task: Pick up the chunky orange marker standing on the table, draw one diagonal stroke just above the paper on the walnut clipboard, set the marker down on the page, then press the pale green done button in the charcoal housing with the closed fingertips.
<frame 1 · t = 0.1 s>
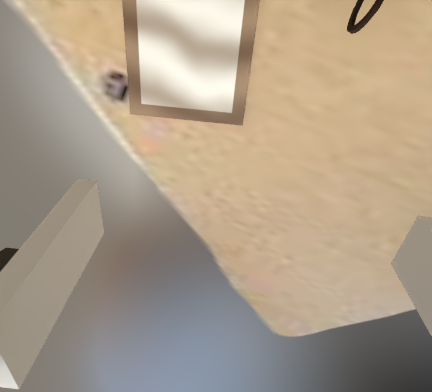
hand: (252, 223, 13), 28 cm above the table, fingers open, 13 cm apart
board: (190, 38, 35), on the table
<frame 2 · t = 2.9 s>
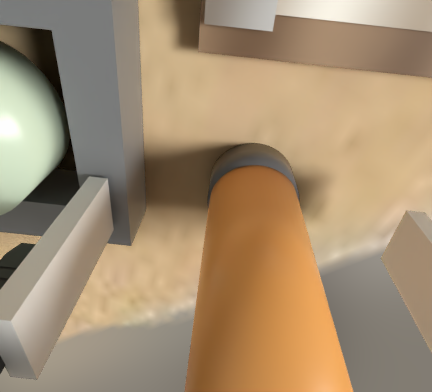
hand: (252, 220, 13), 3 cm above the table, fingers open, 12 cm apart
button housing: (23, 99, 14), on the table
marker: (251, 181, 16), on the table
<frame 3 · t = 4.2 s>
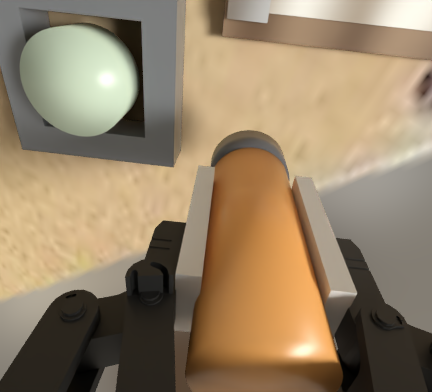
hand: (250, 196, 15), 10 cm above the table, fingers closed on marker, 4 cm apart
button housing: (105, 69, 22), on the table
done button: (84, 80, 19), point 3 cm above the table, slide at 0.0 cm
marker: (247, 164, 18), point 6 cm above the table, touching gripper
when the fingers open (3 cm above the table, at t = 9.3 s): marker stays where it is, resting on board.
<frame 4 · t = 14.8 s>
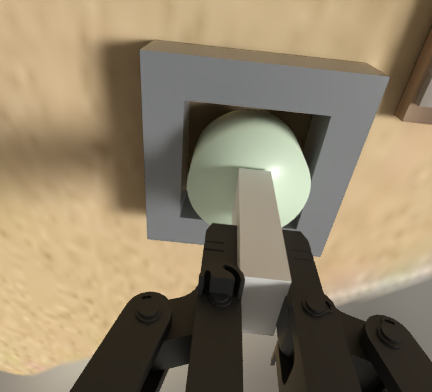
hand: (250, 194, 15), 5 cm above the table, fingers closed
button housing: (245, 148, 19), on the table
done button: (247, 174, 17), point 3 cm above the table, slide at 0.3 cm, touching gripper
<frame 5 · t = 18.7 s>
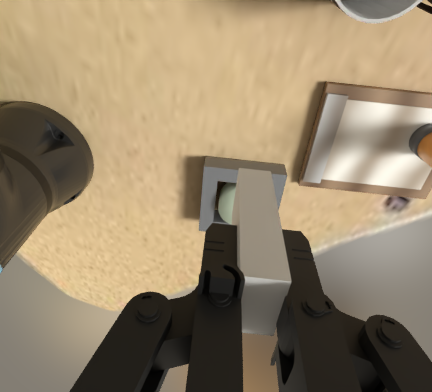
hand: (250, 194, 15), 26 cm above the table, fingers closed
button housing: (239, 193, 47), on the table
done button: (239, 202, 44), point 3 cm above the table, slide at 1.0 cm
marker: (426, 139, 39), point 1 cm above the table, touching board
board: (378, 143, 41), on the table
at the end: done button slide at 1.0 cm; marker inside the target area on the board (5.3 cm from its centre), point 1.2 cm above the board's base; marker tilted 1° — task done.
